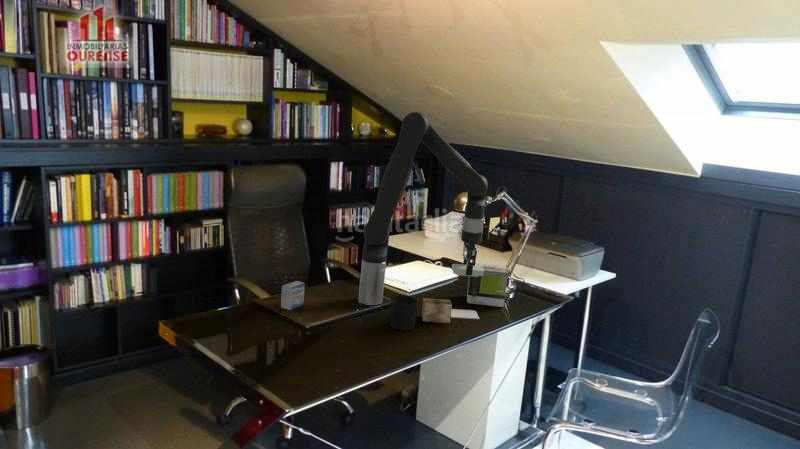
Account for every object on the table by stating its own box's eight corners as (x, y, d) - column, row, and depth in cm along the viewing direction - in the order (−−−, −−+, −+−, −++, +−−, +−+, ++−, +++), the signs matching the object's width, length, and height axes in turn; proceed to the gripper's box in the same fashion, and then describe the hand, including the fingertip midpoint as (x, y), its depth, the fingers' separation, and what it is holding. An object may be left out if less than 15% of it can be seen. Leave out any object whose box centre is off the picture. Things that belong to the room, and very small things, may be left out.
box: (422, 321, 220) (424, 303, 218) (421, 316, 225) (423, 298, 223) (449, 323, 221) (452, 305, 219) (448, 317, 226) (450, 300, 224)
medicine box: (289, 310, 218) (291, 288, 216) (280, 307, 220) (281, 285, 218) (303, 304, 225) (305, 282, 223) (294, 301, 227) (295, 280, 225)
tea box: (502, 299, 251) (507, 265, 248) (503, 308, 242) (508, 273, 238) (466, 295, 252) (470, 261, 249) (466, 303, 243) (470, 268, 239)
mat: (447, 317, 226) (447, 316, 226) (445, 309, 234) (445, 308, 234) (479, 319, 227) (479, 318, 227) (475, 311, 235) (475, 310, 235)
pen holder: (419, 325, 216) (422, 299, 214) (408, 333, 208) (411, 306, 206) (395, 318, 220) (398, 293, 218) (384, 327, 212) (386, 300, 209)
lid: (453, 276, 223) (454, 268, 223) (451, 271, 230) (452, 263, 229) (483, 278, 224) (484, 270, 224) (479, 273, 230) (480, 265, 230)
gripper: (459, 223, 229) (454, 265, 233) (465, 233, 215) (460, 277, 219) (478, 225, 230) (473, 267, 234) (486, 234, 216) (480, 279, 220)
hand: (467, 272), depth 227 cm, fingers closed on lid, 6 cm apart
